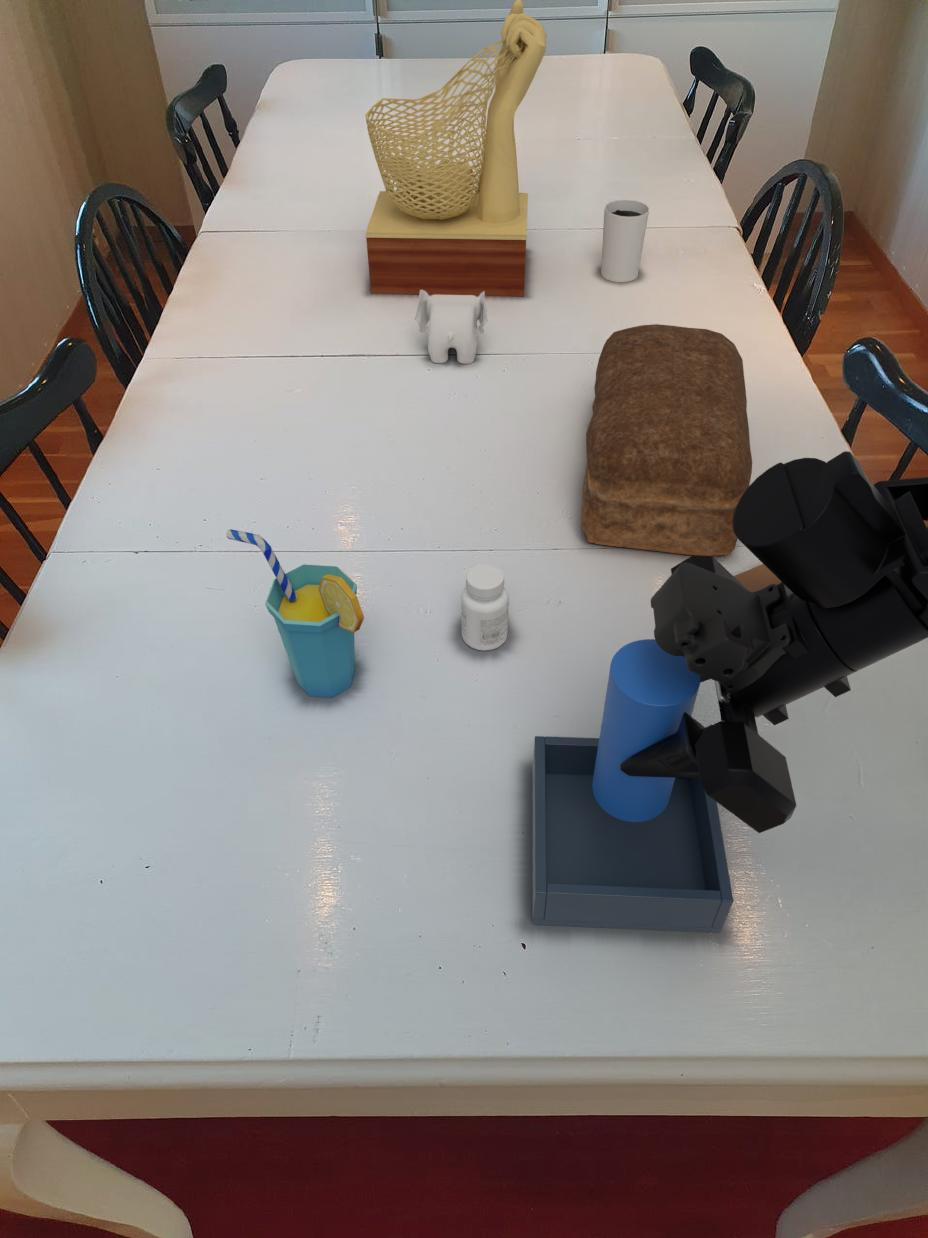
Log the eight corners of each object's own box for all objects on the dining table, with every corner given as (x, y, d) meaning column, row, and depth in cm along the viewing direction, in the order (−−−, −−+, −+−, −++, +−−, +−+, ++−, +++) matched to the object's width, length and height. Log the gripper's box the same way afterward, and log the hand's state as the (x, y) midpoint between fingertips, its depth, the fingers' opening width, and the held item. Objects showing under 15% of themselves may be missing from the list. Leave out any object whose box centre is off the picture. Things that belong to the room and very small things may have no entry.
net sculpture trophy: (536, 250, 148) (548, -7, 123) (535, 301, 135) (548, 27, 110) (384, 247, 149) (365, -7, 124) (369, 298, 136) (345, 26, 111)
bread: (729, 409, 114) (751, 310, 105) (737, 570, 93) (767, 463, 84) (593, 397, 116) (603, 299, 107) (572, 552, 95) (582, 446, 86)
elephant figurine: (490, 330, 129) (491, 269, 123) (486, 374, 121) (486, 311, 114) (423, 328, 129) (420, 268, 123) (415, 372, 121) (411, 309, 115)
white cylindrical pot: (599, 283, 139) (606, 216, 132) (596, 264, 144) (602, 199, 137) (643, 283, 139) (652, 216, 132) (638, 264, 144) (647, 199, 136)
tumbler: (685, 806, 65) (718, 688, 56) (616, 834, 63) (639, 717, 54) (644, 748, 68) (669, 628, 59) (578, 773, 67) (594, 654, 58)
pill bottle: (515, 629, 87) (518, 570, 82) (492, 658, 85) (493, 598, 79) (477, 612, 89) (477, 553, 83) (452, 640, 86) (451, 581, 81)
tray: (696, 777, 75) (706, 741, 72) (720, 933, 66) (733, 901, 62) (532, 770, 76) (534, 735, 72) (532, 925, 66) (535, 893, 63)
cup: (231, 674, 84) (195, 551, 73) (281, 621, 88) (255, 498, 78) (359, 731, 79) (340, 608, 68) (404, 671, 84) (394, 548, 73)
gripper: (730, 451, 56) (542, 576, 64) (785, 680, 43) (540, 800, 51) (826, 552, 61) (640, 656, 69) (901, 784, 48) (660, 877, 56)
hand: (621, 734), depth 61 cm, fingers closed on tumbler, 5 cm apart
